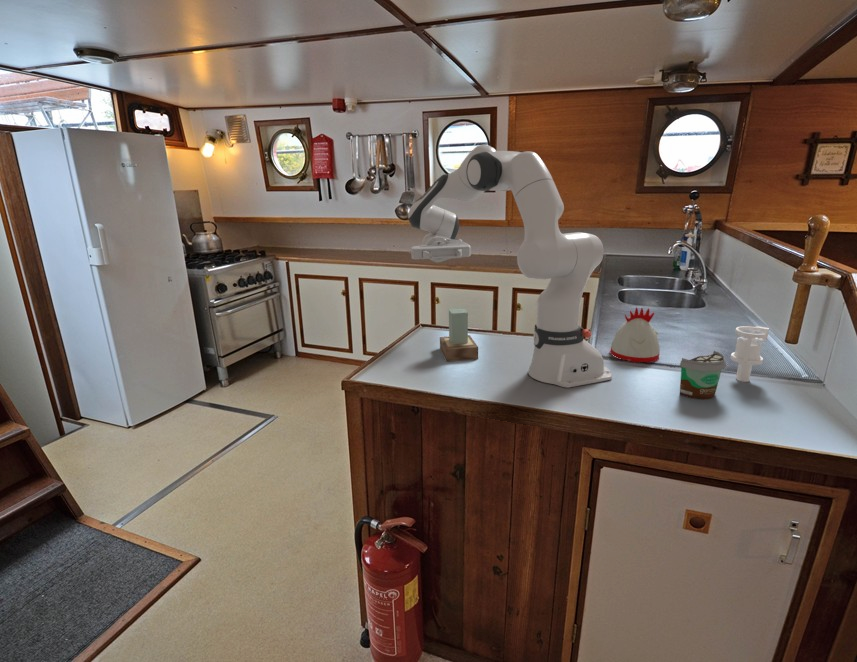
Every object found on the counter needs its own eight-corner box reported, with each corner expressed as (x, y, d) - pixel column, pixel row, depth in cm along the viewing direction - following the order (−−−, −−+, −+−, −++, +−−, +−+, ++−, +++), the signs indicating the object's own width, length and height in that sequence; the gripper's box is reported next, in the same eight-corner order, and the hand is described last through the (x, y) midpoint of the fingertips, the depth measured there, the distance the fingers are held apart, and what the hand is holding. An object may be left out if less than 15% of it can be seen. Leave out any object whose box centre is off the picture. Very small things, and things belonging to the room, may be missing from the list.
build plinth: (469, 346, 158) (469, 334, 157) (478, 359, 147) (478, 346, 146) (439, 348, 157) (439, 336, 156) (446, 361, 146) (446, 348, 145)
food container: (697, 405, 114) (703, 366, 111) (675, 395, 120) (680, 358, 117) (732, 395, 119) (739, 358, 116) (709, 386, 124) (715, 350, 121)
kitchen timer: (664, 364, 140) (670, 314, 135) (614, 361, 142) (619, 313, 138) (652, 347, 153) (658, 302, 148) (607, 346, 155) (611, 301, 151)
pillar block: (464, 338, 154) (464, 308, 151) (467, 343, 149) (467, 312, 146) (449, 339, 153) (448, 309, 150) (452, 344, 148) (451, 313, 145)
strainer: (757, 387, 123) (768, 331, 118) (725, 380, 127) (735, 327, 123) (759, 378, 128) (770, 324, 124) (729, 372, 132) (738, 320, 128)
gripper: (407, 241, 165) (412, 246, 152) (465, 238, 168) (474, 243, 155) (408, 259, 167) (412, 266, 154) (465, 256, 170) (474, 263, 156)
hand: (444, 254), depth 154 cm, fingers open, 8 cm apart
